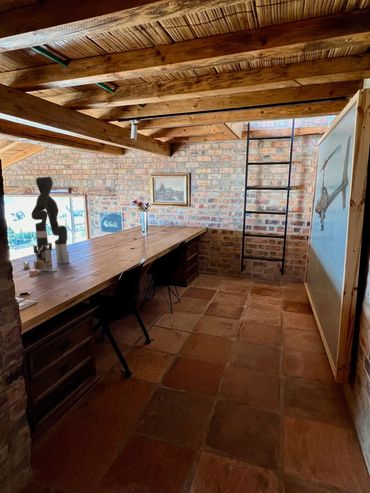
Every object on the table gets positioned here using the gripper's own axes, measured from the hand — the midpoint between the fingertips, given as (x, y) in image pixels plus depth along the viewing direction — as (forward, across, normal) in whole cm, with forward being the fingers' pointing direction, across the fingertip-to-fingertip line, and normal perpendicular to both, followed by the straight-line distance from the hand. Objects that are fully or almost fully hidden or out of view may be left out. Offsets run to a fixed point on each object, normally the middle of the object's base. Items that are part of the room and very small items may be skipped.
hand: (43, 257), depth 217 cm
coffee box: (+10, 0, 0) cm, 10 cm away
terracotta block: (+12, +9, -1) cm, 15 cm away
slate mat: (+12, 0, 0) cm, 12 cm away
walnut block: (+12, -7, -19) cm, 24 cm away
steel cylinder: (+12, +1, -23) cm, 26 cm away
